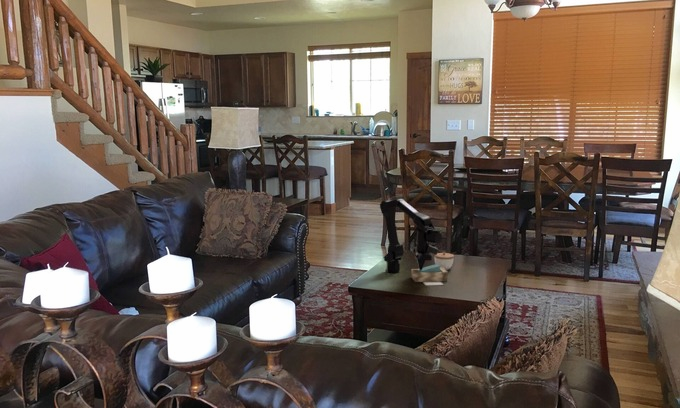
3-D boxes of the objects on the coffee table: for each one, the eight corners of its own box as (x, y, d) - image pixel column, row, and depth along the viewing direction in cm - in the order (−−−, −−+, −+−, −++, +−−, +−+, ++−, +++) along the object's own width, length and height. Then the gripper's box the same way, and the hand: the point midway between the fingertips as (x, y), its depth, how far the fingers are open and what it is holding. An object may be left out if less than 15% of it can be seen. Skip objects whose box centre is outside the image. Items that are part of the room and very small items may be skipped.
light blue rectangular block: (422, 278, 292) (420, 271, 292) (420, 275, 297) (418, 268, 296) (440, 273, 293) (439, 266, 292) (438, 270, 297) (436, 263, 297)
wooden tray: (415, 281, 290) (415, 272, 289) (411, 277, 298) (411, 268, 298) (447, 281, 292) (447, 271, 291) (442, 276, 300) (443, 267, 299)
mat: (425, 285, 284) (425, 284, 284) (423, 282, 289) (423, 282, 289) (443, 285, 285) (443, 284, 285) (440, 282, 290) (440, 281, 290)
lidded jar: (453, 271, 310) (453, 255, 309) (433, 270, 312) (434, 253, 311) (453, 266, 321) (453, 250, 319) (434, 265, 323) (434, 249, 321)
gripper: (442, 244, 283) (440, 274, 286) (432, 236, 302) (431, 265, 304) (421, 244, 282) (419, 274, 284) (412, 236, 300) (410, 264, 303)
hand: (420, 269), depth 294 cm, fingers closed, pressing on light blue rectangular block
